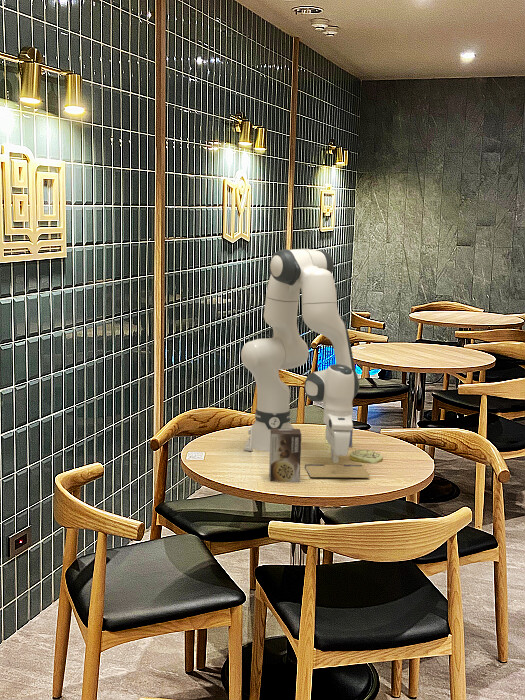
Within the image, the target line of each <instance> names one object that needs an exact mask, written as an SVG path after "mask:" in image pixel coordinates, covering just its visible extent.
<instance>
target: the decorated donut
mask: <svg viewBox="0 0 525 700" xmlns="http://www.w3.org/2000/svg"><path fill="white" fill-rule="evenodd" d="M383 457H384V456H383V455H382V454H381V453H380V452H376V451H374V450H368V449H357V450H356V449H355V450H353V451H351V452H350V453H349V459H350V460H351V461H354V462H357V463H364V464H377V463H381V462H382V461H383Z"/></svg>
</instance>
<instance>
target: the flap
mask: <svg viewBox="0 0 525 700" xmlns="http://www.w3.org/2000/svg"><path fill="white" fill-rule="evenodd" d="M323 465H324V466H306V469H305V470H306V472H307V473H308V475H309V477H310V478H362V479H364V478H365V479H366V478H367V479H368V478H370V477H371V474H370V473H369V472H368V471H367V470H366V469H365V466H363V465H362V466H343V465H344V464H323Z"/></svg>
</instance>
